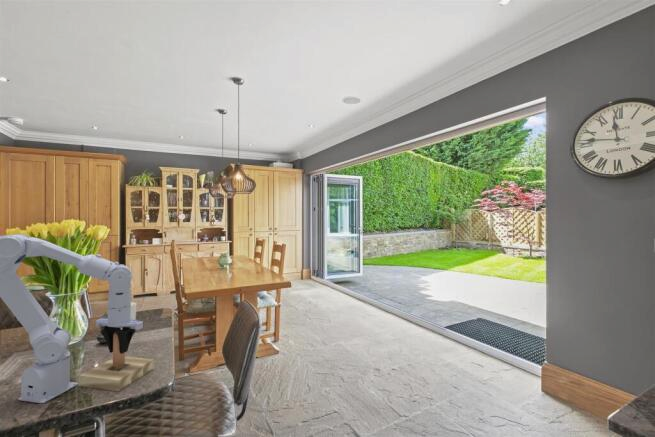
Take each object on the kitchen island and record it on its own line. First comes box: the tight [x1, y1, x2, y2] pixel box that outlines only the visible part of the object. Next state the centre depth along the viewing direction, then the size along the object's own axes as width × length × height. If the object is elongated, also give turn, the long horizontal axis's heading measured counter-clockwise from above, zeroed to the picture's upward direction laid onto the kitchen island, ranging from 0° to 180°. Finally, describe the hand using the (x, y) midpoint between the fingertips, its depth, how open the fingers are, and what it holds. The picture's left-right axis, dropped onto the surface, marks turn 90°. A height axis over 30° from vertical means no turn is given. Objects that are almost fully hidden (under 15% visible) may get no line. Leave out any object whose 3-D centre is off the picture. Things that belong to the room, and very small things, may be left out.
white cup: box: [121, 301, 138, 329], centre depth 135 cm, size 8×8×10 cm
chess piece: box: [95, 312, 108, 348], centre depth 117 cm, size 6×6×12 cm
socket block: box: [78, 356, 154, 392], centre depth 93 cm, size 13×13×3 cm
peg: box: [112, 332, 126, 367], centre depth 93 cm, size 3×3×10 cm
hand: (118, 351), depth 93 cm, fingers closed on peg, 3 cm apart
